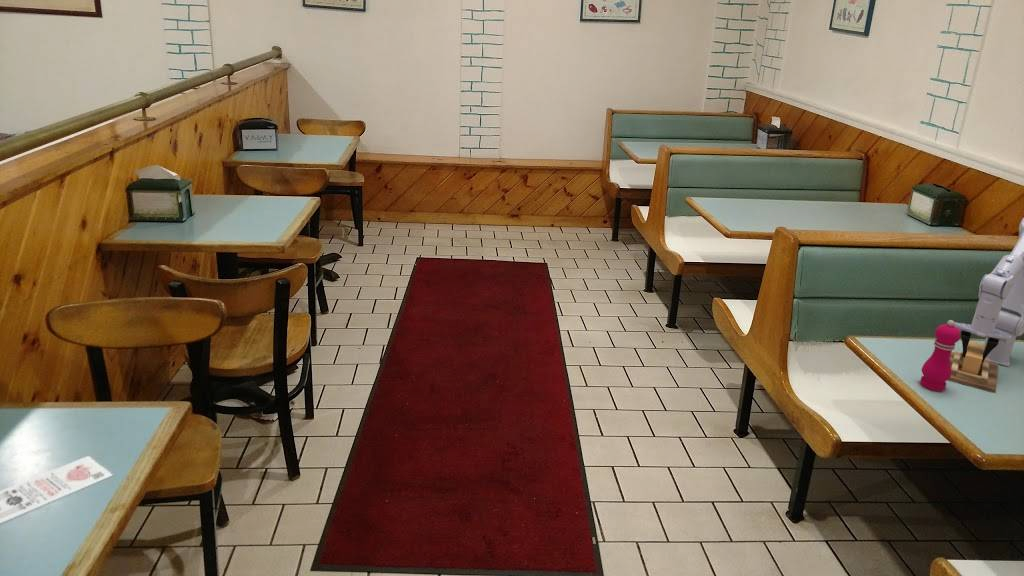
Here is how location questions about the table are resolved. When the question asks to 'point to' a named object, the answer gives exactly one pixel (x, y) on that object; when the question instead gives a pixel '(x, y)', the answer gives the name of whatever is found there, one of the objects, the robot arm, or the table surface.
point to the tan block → (973, 358)
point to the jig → (982, 380)
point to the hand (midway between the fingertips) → (972, 358)
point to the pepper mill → (940, 358)
